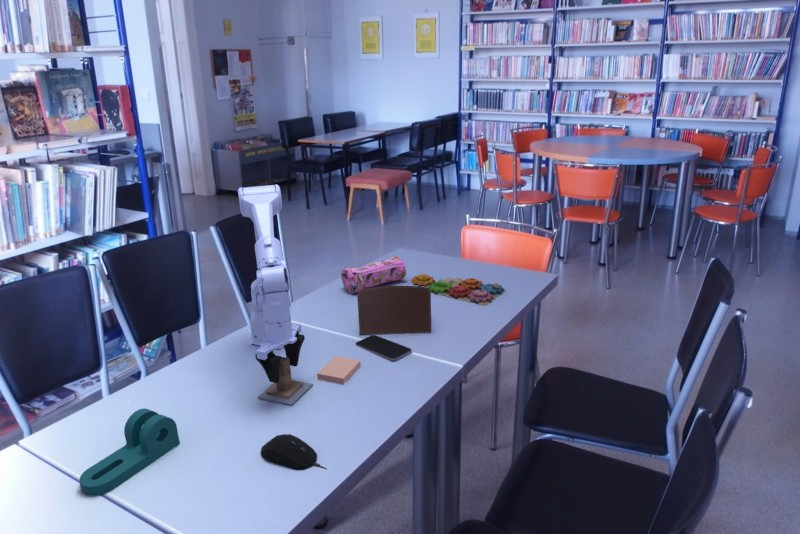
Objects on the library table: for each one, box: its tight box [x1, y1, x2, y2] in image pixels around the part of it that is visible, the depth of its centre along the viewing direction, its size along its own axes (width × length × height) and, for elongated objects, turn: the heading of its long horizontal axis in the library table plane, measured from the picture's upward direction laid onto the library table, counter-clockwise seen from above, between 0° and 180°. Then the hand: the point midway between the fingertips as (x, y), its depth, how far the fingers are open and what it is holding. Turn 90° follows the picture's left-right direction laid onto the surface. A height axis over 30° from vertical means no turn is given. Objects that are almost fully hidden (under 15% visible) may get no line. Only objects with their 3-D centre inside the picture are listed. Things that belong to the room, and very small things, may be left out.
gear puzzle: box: [411, 273, 506, 307], centre depth 189 cm, size 31×16×4 cm, turn 55°
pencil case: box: [340, 255, 407, 295], centre depth 192 cm, size 21×9×9 cm, turn 123°
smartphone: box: [355, 334, 413, 363], centre depth 152 cm, size 7×1×15 cm
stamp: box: [266, 356, 303, 399], centre depth 132 cm, size 6×6×8 cm
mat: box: [257, 379, 314, 407], centre depth 133 cm, size 9×9×1 cm
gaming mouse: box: [260, 433, 328, 471], centre depth 110 cm, size 6×15×4 cm, turn 61°
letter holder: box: [356, 285, 433, 336], centre depth 162 cm, size 10×20×14 cm, turn 90°
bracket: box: [79, 408, 181, 497], centre depth 109 cm, size 18×7×8 cm, turn 150°
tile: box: [316, 355, 362, 385], centre depth 140 cm, size 2×9×7 cm
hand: (283, 373), depth 131 cm, fingers open, 7 cm apart
